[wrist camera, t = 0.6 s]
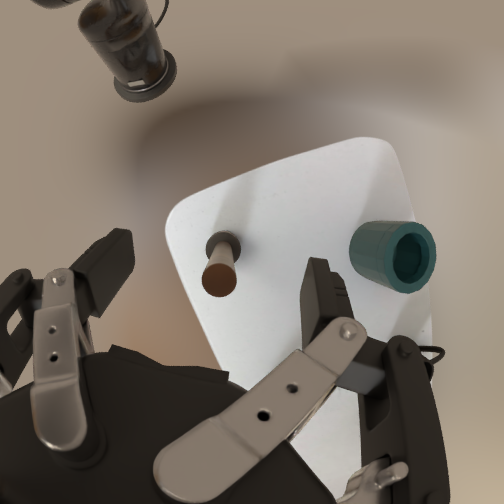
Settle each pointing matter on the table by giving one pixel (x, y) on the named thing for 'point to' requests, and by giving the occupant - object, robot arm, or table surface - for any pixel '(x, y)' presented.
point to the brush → (221, 264)
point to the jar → (394, 254)
